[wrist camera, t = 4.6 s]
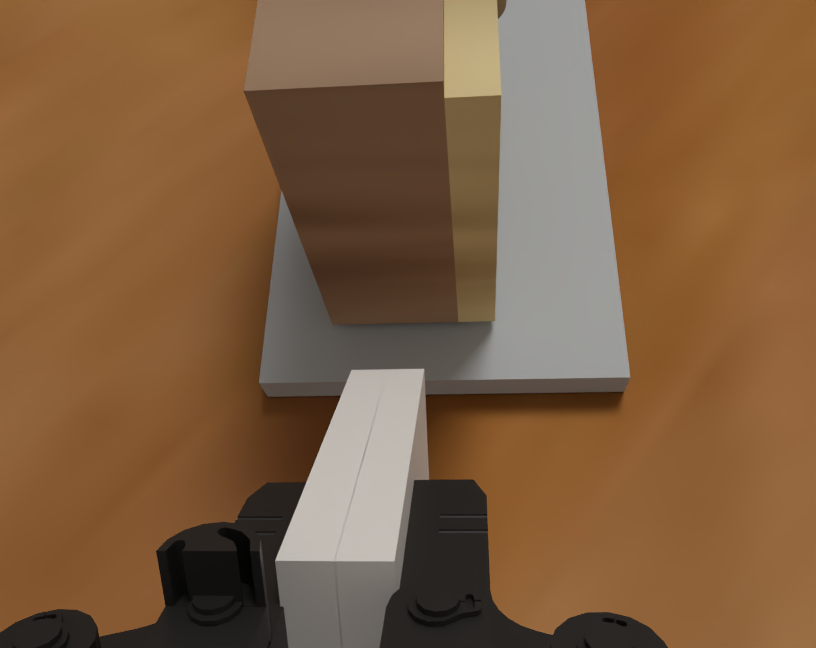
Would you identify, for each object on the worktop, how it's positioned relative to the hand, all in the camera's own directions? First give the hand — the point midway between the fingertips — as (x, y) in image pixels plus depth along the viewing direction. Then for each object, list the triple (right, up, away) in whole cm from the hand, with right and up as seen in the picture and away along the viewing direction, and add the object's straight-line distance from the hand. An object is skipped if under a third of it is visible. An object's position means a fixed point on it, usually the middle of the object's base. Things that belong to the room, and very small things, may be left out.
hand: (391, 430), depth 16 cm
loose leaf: (+1, +7, +8) cm, 10 cm away
